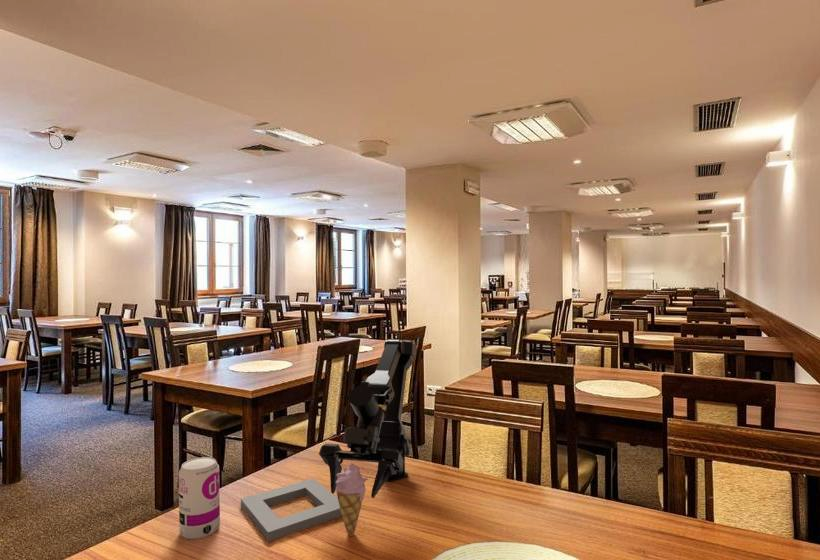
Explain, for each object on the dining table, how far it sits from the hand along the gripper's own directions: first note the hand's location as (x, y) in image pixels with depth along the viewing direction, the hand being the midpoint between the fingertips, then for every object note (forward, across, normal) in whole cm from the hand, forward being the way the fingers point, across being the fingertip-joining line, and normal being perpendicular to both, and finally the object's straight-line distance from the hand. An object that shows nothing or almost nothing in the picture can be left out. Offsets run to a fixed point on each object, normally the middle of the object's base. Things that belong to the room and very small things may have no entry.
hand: (352, 495), depth 104 cm
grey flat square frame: (+1, -18, +11) cm, 21 cm away
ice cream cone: (+6, 0, +6) cm, 9 cm away
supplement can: (+10, -34, +2) cm, 35 cm away
